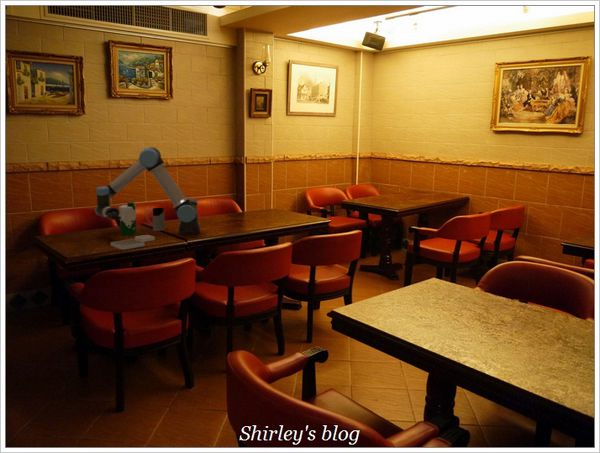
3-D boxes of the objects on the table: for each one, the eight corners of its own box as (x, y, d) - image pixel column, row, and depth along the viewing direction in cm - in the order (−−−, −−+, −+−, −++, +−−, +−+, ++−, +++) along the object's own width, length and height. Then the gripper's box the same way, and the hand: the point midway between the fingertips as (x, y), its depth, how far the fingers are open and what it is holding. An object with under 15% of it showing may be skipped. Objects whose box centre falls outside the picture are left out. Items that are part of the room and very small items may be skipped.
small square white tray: (147, 237, 337) (147, 234, 336) (154, 240, 331) (154, 236, 330) (135, 239, 330) (134, 236, 330) (142, 242, 324) (141, 239, 324)
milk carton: (133, 236, 310) (131, 204, 306) (118, 236, 310) (117, 203, 306) (138, 233, 318) (137, 201, 314) (123, 233, 319) (122, 201, 315)
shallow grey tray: (132, 241, 325) (132, 238, 324) (144, 245, 315) (144, 242, 315) (110, 245, 315) (110, 242, 314) (122, 249, 305) (122, 246, 304)
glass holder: (161, 230, 358) (161, 209, 355) (143, 229, 361) (142, 208, 358) (167, 228, 367) (166, 207, 364) (149, 227, 369) (148, 206, 366)
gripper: (124, 217, 332) (142, 222, 316) (97, 220, 319) (114, 226, 303) (124, 205, 330) (142, 210, 314) (96, 208, 317) (113, 213, 301)
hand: (128, 218), depth 309 cm, fingers closed on milk carton, 5 cm apart
